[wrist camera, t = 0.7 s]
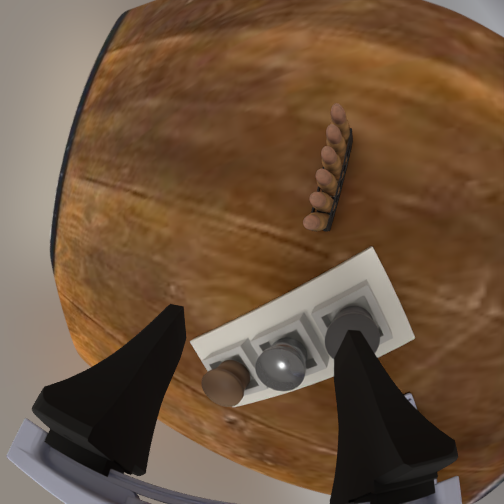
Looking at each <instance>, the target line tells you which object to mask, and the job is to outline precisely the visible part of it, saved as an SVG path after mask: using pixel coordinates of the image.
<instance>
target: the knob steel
mask: <svg viewBox="0 0 504 504" xmlns="http://www.w3.org/2000/svg"><path fill="white" fill-rule="evenodd" d="M307 357H308V355H307V350H306V348H305V347H304V345H303V344H302V343H301V342H299V341H298V340H296V339H293V338H287V337H286V338H280V339H278V340H276V341H275V342H274V343H273V344H272V345H271V347H270V348H268V349H266V350H264V351H263V352H262V353H261V354H260V356H259V357H258V359H257V361H256V364H255V370H256V374H257V376H258V378H259V379H260V381H261V382H262V383H263V384H264V385H266V386H267V387H269V388H271V389H273V390H277V391H290V390H293V389H295V388H297V387H298V386H299V385H300V384H301V383H302V382H303V380H304V377H305V374H306V365H305V364H306V361H307Z"/></svg>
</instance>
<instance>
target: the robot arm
mask: <svg viewBox="0 0 504 504" xmlns="http://www.w3.org/2000/svg"><path fill="white" fill-rule="evenodd" d="M185 341H186V329H185V318H184V307H183V306H178V305H173V304H170V305H168V306H167V307H166V308H165V309H164V310H163V311H162V312H161V313H160V314H159V315H158V316H157V317H156V318H155V319H154V320H153V321H152V322H151V323H150V324H149V325H147V326H146V327H145V328H144V329H143V330H142V331H141V332H140V333H139V334H137V335H136V336H135V337H134V338H133V339H131V340H130V341H129V342H128V343H127V344H125V345H124V346H123V347H122V348H120V349H119V350H117V351H116V352H115V353H113V354H112V355H110V356H109V357H107V358H106V359H104V360H103V361H101V362H99V363H98V364H96V365H94V366H93V367H91V368H89V369H87V370H85V371H83V372H81V373H79V374H77V375H75V376H73V377H70V378H68V379H66V380H63V381H60V382H57V383H54V384H51V385H48V386H45V387H44V388H43V390H42V391H41V393H40V394H39V396H38V398H37V400H36V401H35V403H34V405H33V407H32V411H33V413H34V414H35V415H36V416H37V417H38V418H39V419H40V420H41V421H42V422H43V423H44V424H45V425H47V426H48V427H49V428H50V431H49V433H47V432H46V431H44V430H43V429H42V428H40V427H38V426H37V425H36V424H34V423H33V422H31V421H30V420H29V419H27V418H25V419H24V421H23V423H22V425H21V427H20V429H19V431H18V433H17V435H16V437H15V439H14V441H13V443H12V445H11V447H10V449H9V451H8V453H7V458H8V459H9V460H10V461H12V462H13V463H14V464H15V465H16V466H17V467H18V468H20V469H21V470H22V471H23V472H25V473H26V474H27V475H28V476H29V477H31V478H32V479H33V480H34V481H36V482H37V483H38V484H39V485H41V486H42V487H43V488H44V489H46V490H47V491H49V492H50V493H51V494H52V495H54V496H55V497H57V498H58V499H59V500H61V501H62V502H64V503H65V504H151V503H148V502H145V501H142V500H140V498H139V496H138V495H137V494H139V495H142V496H145V497H148V498H151V499H154V500H157V501H160V502H163V503H167V504H235V503H228V502H222V501H216V500H210V499H205V498H201V497H195V496H191V495H187V494H183V493H179V492H175V491H172V490H168V489H165V488H162V487H158V486H155V485H152V484H149V483H146V482H144V481H141V480H138V479H135V478H133V477H130V476H127V475H125V474H124V472H125V473H127V474H130V475H131V474H134V475H137V476H141V475H143V474H145V473H146V468H147V462H148V456H149V451H150V446H151V442H152V437H153V433H154V429H155V425H156V421H157V417H158V414H159V410H160V407H161V403H162V401H163V398H164V395H165V393H166V390H167V388H168V386H169V383H170V381H171V379H172V376H173V374H174V372H175V369H176V367H177V365H178V362H179V360H180V358H181V354H182V351H183V348H184V344H185ZM334 384H335V392H336V401H337V411H338V422H339V435H338V452H337V463H336V471H335V478H334V483H333V489H332V493H331V498H330V504H462V501H461V491H460V484H459V477H458V476H455V477H453V478H450V479H447V480H444V481H442V482H439V483H437V477H438V476H437V471H439V470H441V469H443V468H445V467H446V466H448V465H450V464H451V463H453V462H454V461H456V460H457V458H458V453H457V448H456V444H455V440H453V439H452V438H450V437H449V436H448V435H446V434H445V433H443V432H442V431H440V430H439V429H438V428H437V427H435V426H434V425H433V424H432V423H431V422H429V421H428V420H427V419H426V418H425V417H424V416H423V415H422V414H421V413H420V412H419V411H418V410H417V407H416V404H415V402H414V399H413V396H412V394H411V393H407V394H405V395H403V394H402V392H401V391H400V390H399V389H398V387H397V386H396V385H395V383H394V382H393V381H392V379H391V378H390V376H389V375H388V374H387V372H386V371H385V369H384V368H383V366H382V364H381V363H380V361H379V360H378V358H377V357H376V355H375V353H374V352H373V350H372V349H371V347H370V345H369V344H368V342H367V340H366V339H365V337H364V336H363V334H362V332H361V331H358V330H348V331H347V333H346V335H345V337H344V339H343V341H342V343H341V345H340V347H339V349H338V351H337V353H336V355H335V357H334ZM409 398H411V399H410V400H408V399H409Z"/></svg>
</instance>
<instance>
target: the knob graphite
mask: <svg viewBox="0 0 504 504" xmlns="http://www.w3.org/2000/svg"><path fill="white" fill-rule="evenodd" d="M348 330H358V331H361V332H362V334H363V336H364V337H365V339H366V340H367V342H368V344H369V345H370V347H371V349H372V350H373V352H374V353H376V351H377V349H378V347H379V343H380V334H379V329H378V326H377V324H376V323H375V322H374V320H373V318H372V316H371V314H370V313H369V312H368V311H367V310H366V309H364V308H362V307H358V306H350V307H346V308H344V309H342V310H341V311H339V312H338V313H337V315H336V316H335V318H334V320H333V321H332V323H331V324H330V325H329V327H328V329H327V332H326V336H325V347H326V350H327V352H328V354H329V355H330V356H331V358H333V359H334V357H335V355H336V353H337V351H338V349H339V347H340V345H341V343H342V341H343V339H344V337H345V335H346V333H347V331H348Z"/></svg>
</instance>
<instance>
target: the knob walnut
mask: <svg viewBox="0 0 504 504" xmlns="http://www.w3.org/2000/svg"><path fill="white" fill-rule="evenodd" d="M249 382H250V373H249V371H248V370H247V368H246V367H245V366H244V365H243V364H241V363H240V362H238V361H235V360H226V361H223V362H222V363H221V364H220V365H219V366H218V367H217V368H216V369H212V370H210V371H208V372H207V373H206V374H205V375H204V376H203V378H202V388H203V390H204V392H205V394H206V395H207V396H208V398H209V399H211V400H212V401H213V402H215V403H216V404H218V405H221V406H225V407H232V406H235V405H237V404H238V403H239V402H240V401H241V400H242V398H243V396H244V390H245V388H246V387H247V386H248V384H249Z"/></svg>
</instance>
